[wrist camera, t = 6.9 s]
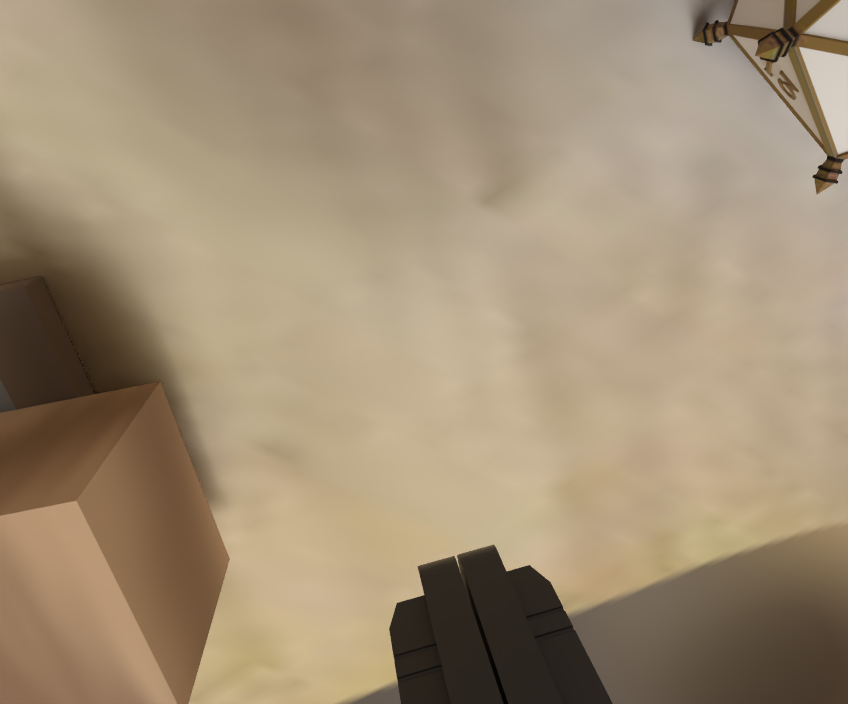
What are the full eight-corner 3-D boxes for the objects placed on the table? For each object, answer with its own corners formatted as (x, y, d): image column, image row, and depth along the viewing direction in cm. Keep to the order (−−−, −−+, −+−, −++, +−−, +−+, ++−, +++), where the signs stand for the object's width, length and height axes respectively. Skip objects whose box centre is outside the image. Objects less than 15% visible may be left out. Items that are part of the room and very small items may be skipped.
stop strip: (40, 276, 15) (24, 286, 14) (197, 616, 20) (192, 640, 19) (-20, 289, 15) (-41, 300, 14) (151, 629, 20) (144, 654, 19)
